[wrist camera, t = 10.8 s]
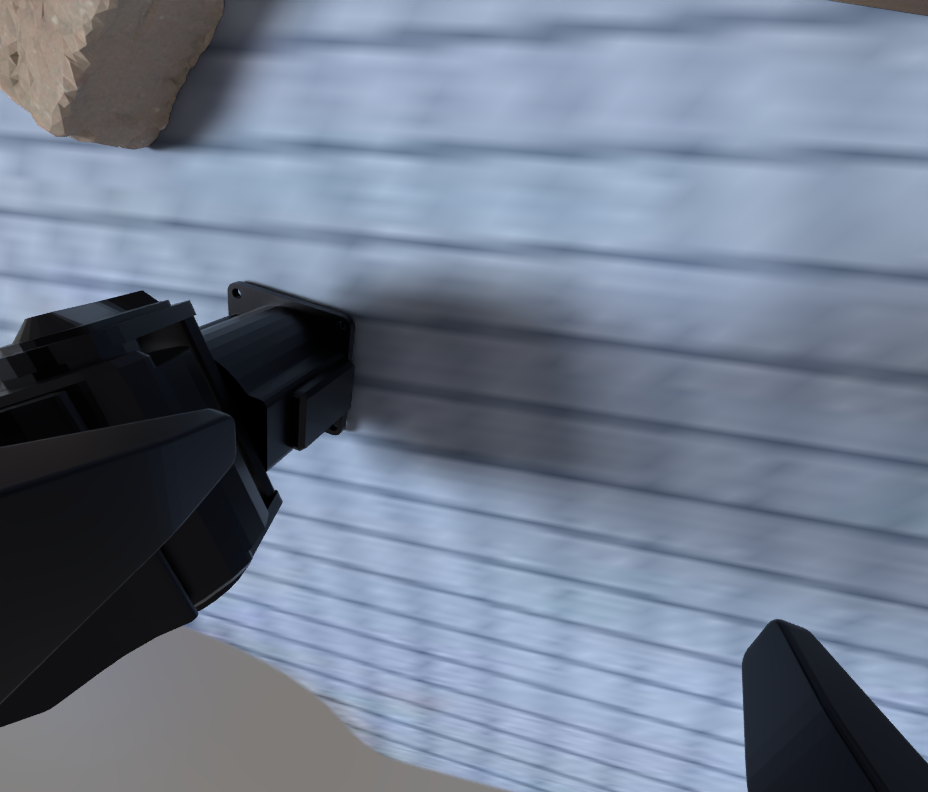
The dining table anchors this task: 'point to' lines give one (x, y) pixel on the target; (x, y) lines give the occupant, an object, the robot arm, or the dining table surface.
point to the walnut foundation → (894, 5)
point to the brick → (102, 63)
